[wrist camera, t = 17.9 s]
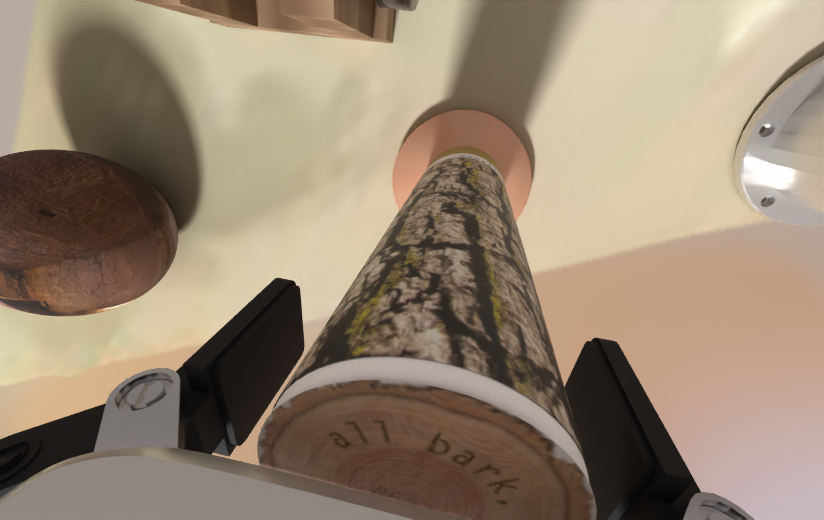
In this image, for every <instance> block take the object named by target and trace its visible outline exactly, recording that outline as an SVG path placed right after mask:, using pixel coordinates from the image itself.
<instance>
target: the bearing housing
mask: <svg viewBox="0 0 824 520" xmlns="http://www.w3.org/2000/svg"><path fill="white" fill-rule="evenodd" d="M136 1H140V2H144V3H147V4H151V5H155V6H159V7H163V8H166V9H170V10H174V11H178V12H181V13H185V14H189V15H193V16H196V17H200V18H204V19H208V20H210V22H212V23H215V24H219V25H223V26H227V27H236V28H246V29H256V30H266V31H276V32H286V33H296V34H306V35H315V36H325V37H335V38H345V39H355V40H365V41H375V42H385V43H392V40H393V24H394V9H384V8H379V7H378V6H377V4H376V2H375V0H136Z"/></svg>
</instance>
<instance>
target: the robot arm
mask: <svg viewBox="0 0 824 520" xmlns="http://www.w3.org/2000/svg"><path fill="white" fill-rule="evenodd" d="M733 171H734V181H735V184H736V188H737V191H738V193H739V195H740V196H741V197H742V199H743V200H744V202H745V203H746V204H747V205H748V206H749V207H751V208H752V209H753V210H754V211H756V212H757V213H759V214H761V215H763V216H766V217H768V218H770V219H772V220H775V221H778V222H781V223H784V224H789V225H796V226H824V55H822V56H821V57H819V58H817V59H815V60H814V61H812V62H810V63H808V64H807V65H805V66H804V67H803V68H801V69H800V70H799V71H797V72H796V73H795V74H793V75H792V76H791V77H789V78H788V79H786V80H785V81H784V82H783V83H782V84H781V85H780V86H779V87H778V88H777V89H776V90H775V91H774V92H773V93H772V94H770V95H769V96H768V97H767V99H766V100H765V101H764V102H763V104H762V105H761V106H760V107H759V108H758V110H757V111H756V112H755V113H754V115H753V116H752V118H751V120H750V121H749V123H748V125H747V126H746V128H745V130H744V131H743V133H742V136H741V138H740V141H739V143H738V146H737V148H736V153H735V158H734V164H733ZM303 351H304V335H303V321H302V308H301V295H300V288H299V286H296V283H295V282H294V281H292V280H287V279H281V278H276V279H274V280H273V281H272V282H271V283H270V284H269V285H268V286H267V287H266V288H264V289H263V290H262V291H261V292H260V293H259V294H258V295H257V296H256V297H255V298H254V299H253V300H252V301H250V302H249V303H248V304H247V305H246V306H245V307H244V308H243V309H242V310H241V311H240V312H239V313H238V314H236V315H235V316H234V317H233V318H232V319H231V320H230V321H229V322H228V323H227V324H226V325H225V326H224V327H222V328H221V329H220V330H219V331H218V332H217V333H216V334H215V335H214V336H213V337H212V338H211V339H210V340H209V341H207V342H206V343H205V344H204V345H203V346H202V347H201V348H200V349H199V350H198V351H197V352H196V353H195V354H194V355H192V356H191V357H190V358H189V359H188V360H187V361H186V362H185V363H184V364H183V366H182V367H180V368H179V369H178V370H177V371H176V372H175V371H173V370H171V369H168V368H157V369H151V370H147V371H143V372H141V373H138V374H136V375H134V376H132V377H130V378H128V379H126V380H125V381H123V382H122V383H121V384H119V385H118V386H117V387H116V388H115V389H114V390H113V391H112V392H111V393H110V395H109V397H108V399H107V401H106V404H103V405H100V406H97V407H94V408H91V409H88V410H85V411H82V412H79V413H76V414H73V415H70V416H67V417H64V418H61V419H58V420H55V421H52V422H49V423H46V424H43V425H40V426H37V427H34V428H31V429H28V430H25V431H22V432H19V433H16V434H13V435H10V436H8V437H5V438H3V439H0V520H471V519H467V518H463V517H459V516H455V515H451V514H448V513H444V512H440V511H436V510H432V509H428V508H424V507H420V506H416V505H412V504H409V503H405V502H401V501H397V500H393V499H389V498H385V497H381V496H377V495H373V494H369V493H366V492H362V491H358V490H354V489H350V488H346V487H342V486H338V485H334V484H330V483H326V482H322V481H318V480H314V479H310V478H306V477H302V476H298V475H294V474H290V473H286V472H282V471H278V470H274V469H270V468H266V467H262V466H258V465H254V464H249V463H245V462H241V461H236V460H232V459H227V458H223V457H219V456H215V455H212V453H218V454H221V455H225V456H230V455H231V453H232V452H233V450H234V449H235V447H236V446H237V445H238V446H240V445H242V444H243V443H244V442H245V440H246V439H247V437H248V436H249V434H250V433H251V431H252V430H253V428H254V427H255V425H256V424H257V422H258V421H259V419H260V418H261V416H262V415H263V413H264V412H265V410H266V409H267V407H268V406H269V404H270V403H271V401H272V400H273V398H274V397H275V395H276V393H277V392H278V391H279V389H280V387H281V386H282V384H283V383H284V381H285V380H286V378H287V377H288V375H289V374H290V372H291V371H292V369H293V368H294V366H295V365H296V363H297V362H298V360H299V359H300V357H301V356H302V353H303ZM564 388H565V391H566V395H567V398H568V402H569V405H570V408H571V412H572V415H573V419H574V422H575V426H576V429H577V432H578V436H579V439H580V443H581V446H582V449H583V453H584V456H585V460H586V463H587V466H588V471H589V478H590V486H591V488H592V491H593V494H594V497H595V502H596V509H597V513H596V520H754V519H753V518H752V517H751V516H750V515H749V514H747V513H746V512H745V511H744V510H742V509H741V508H740V507H739V506H737V505H735V504H734V503H732V502H731V501H728V500H727V499H726V498H723V497H721V496H718V495H716V494H713V493H707V492H701V491H700V489H699V488H698V486H697V484H696V482H695V481H694V479H693V477H692V475H691V473H690V472H689V470H688V468H687V466H686V464H685V462H684V461H683V459H682V457H681V455H680V453H679V452H678V450H677V448H676V446H675V445H674V443H673V441H672V439H671V437H670V436H669V434H668V432H667V430H666V428H665V427H664V425H663V423H662V421H661V419H660V418H659V416H658V414H657V412H656V411H655V409H654V407H653V405H652V403H651V402H650V400H649V398H648V396H647V395H646V393H645V391H644V389H643V387H642V386H641V384H640V382H639V380H638V378H637V377H636V375H635V373H634V371H633V369H632V368H631V366H630V364H629V362H628V361H627V359H626V357H625V355H624V353H623V352H622V350H621V348H620V346H619V345H618V343H617V342H615V341H611V340H606V339H600V338H594V339H593V340H592V341H587V342H586V343H585V345H584V347H583V349H582V351H581V353H580V355H579V357H578V359H577V362H576V364H575V366H574V368H573V370H572V372H571V374H570V376H569V379H568V381H567V383H566V385H565V387H564Z"/></svg>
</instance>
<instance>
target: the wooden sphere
mask: <svg viewBox="0 0 824 520" xmlns="http://www.w3.org/2000/svg"><path fill="white" fill-rule="evenodd" d="M177 244H178V231H177V225H176V221H175V218H174V215H173V213H172V211H171V209H170V207H169V205H168V204H167V202H166V201H165V199H164V198H163V197H162V195H161V194H160V193H159V192H158V191H157V190H156V189H155V188H154V187H153V186H152V185H151V184H150V183H149V182H148V181H146V180H145V179H144V178H142V177H141V176H140V175H138V174H136V173H135V172H133V171H132V170H130V169H128V168H126V167H124V166H122V165H120V164H118V163H115V162H113V161H110V160H108V159H105V158H102V157H99V156H95V155H91V154H87V153H82V152H76V151H68V150H32V151H24V152H18V153H13V154H9V155H6V156H2V157H0V304H1V305H4V306H6V307H9V308H12V309H16V310H19V311H23V312H28V313H33V314H39V315H48V316H80V315H88V314H94V313H99V312H104V311H107V310H111V309H114V308H117V307H120V306H122V305H125V304H127V303H129V302H131V301H133V300H135V299H137V298H139V297H140V296H142V295H143V294H145V293H146V292H148V291H149V290H150V289H152V288H153V287H154V286H155V285H156V284H157V283H158V282H159V281H160V280H161V279H162V278H163V277H164V275H165V274H166V273H167V271H168V270H169V268H170V266H171V264H172V262H173V260H174V257H175V254H176V250H177Z"/></svg>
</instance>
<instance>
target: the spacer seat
mask: <svg viewBox="0 0 824 520" xmlns="http://www.w3.org/2000/svg"><path fill="white" fill-rule="evenodd" d="M462 146H465V147H473V148H477V149H479V150H481V151H483V152H485V153H487V154H488V155H489V156H490V157H491V158H492V159H493V160H494V161H495V162H496V163H497V165H498V167H499V169H500V171H501V174H502V178H503V181H504V184H505V187H506V190H507V194H508V197H509V200H510V204H511V207H512V211H513V214H514V217H515V221H516V220H517V219H518V217H519V216H520V214H521V213H522V211H523V209H524V207H525V205H526V203H527V200H528V197H529V193H530V189H531V178H532V176H531V166H530V161H529V157H528V155H527V152H526V149H525V147H524V146H523V144H522V142H521V140H520V139H519V138H518V136H517V135H516V134H515V133H514V132H513V131H512V130H511V129H510V128H509V127H508V126H507V125H506V124H505V123H503V122H502V121H501V120H499V119H497V118H495V117H494V116H492V115H489V114H486V113H483V112H480V111H474V110H453V111H449V112H445V113H442V114H439V115H437V116H434V117H433V118H431V119H429V120H427V121H425V122H424V123H423V124H421V125H420V126H419V127H417V128H416V129H415V130H414V131H413V132H412V133H411V134H410V135H409V137H408V138H407V139H406V141H405V142H404V144H403V145H402V147H401V149H400V151H399V153H398V156H397V158H396V161H395V165H394V171H393V191H394V196H395V200H396V203H397V205H398V208H399V210H400V209H401V208H402V206H403V205H404V203H405V201H406V200H407V198H408V197H409V195H410V194H411V192H412V191H413V189H414V188H415V186H416V184H417V183H418V181H419V180H420V178H421V177H422V175H423V174H424V172H425V171H426V170H427V168H428V166H429V165H430V164H431V162H432V161H433V160H434V159H435V158H436V157H437V156H438V155H439V154H441V153H442V152H444V151H446V150H448V149H451V148H455V147H462Z"/></svg>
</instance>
